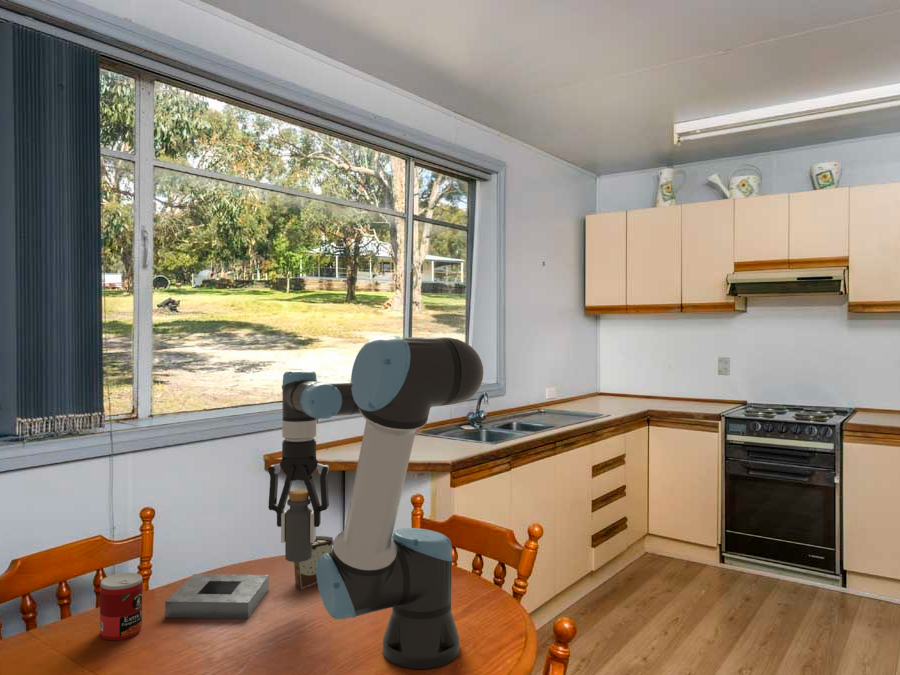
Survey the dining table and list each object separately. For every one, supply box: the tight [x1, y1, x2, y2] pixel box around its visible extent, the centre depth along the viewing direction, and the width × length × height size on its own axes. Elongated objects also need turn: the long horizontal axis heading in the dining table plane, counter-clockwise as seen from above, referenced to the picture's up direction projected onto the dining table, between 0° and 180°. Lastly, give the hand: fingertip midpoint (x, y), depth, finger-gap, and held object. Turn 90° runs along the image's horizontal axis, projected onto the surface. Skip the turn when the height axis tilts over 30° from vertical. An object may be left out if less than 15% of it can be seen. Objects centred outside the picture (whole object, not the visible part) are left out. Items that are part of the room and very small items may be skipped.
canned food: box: [99, 572, 143, 641], centre depth 134 cm, size 8×8×11 cm
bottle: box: [284, 489, 313, 563], centre depth 148 cm, size 6×6×15 cm
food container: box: [293, 535, 335, 590], centre depth 163 cm, size 12×6×10 cm, turn 144°
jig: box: [164, 573, 270, 620], centre depth 149 cm, size 16×18×4 cm
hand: (298, 540), depth 148 cm, fingers closed on bottle, 6 cm apart
